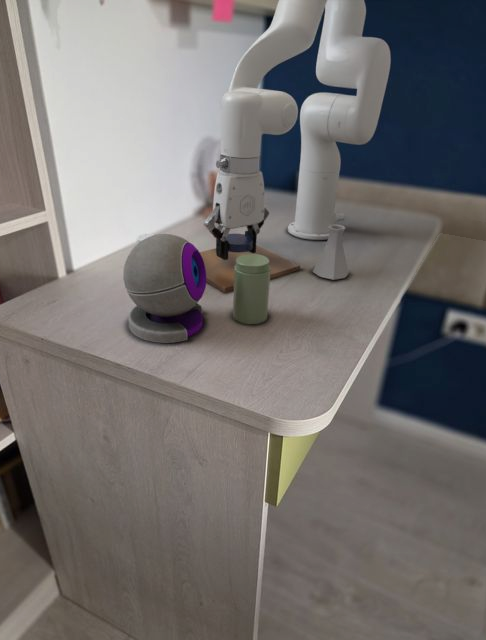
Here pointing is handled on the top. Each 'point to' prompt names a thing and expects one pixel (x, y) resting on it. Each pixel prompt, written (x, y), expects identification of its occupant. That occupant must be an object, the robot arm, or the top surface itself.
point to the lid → (239, 243)
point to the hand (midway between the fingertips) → (236, 253)
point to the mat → (223, 270)
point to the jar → (251, 288)
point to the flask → (333, 256)
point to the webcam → (165, 288)
